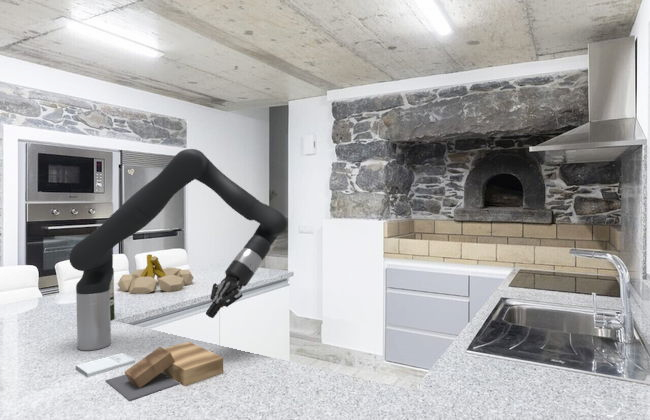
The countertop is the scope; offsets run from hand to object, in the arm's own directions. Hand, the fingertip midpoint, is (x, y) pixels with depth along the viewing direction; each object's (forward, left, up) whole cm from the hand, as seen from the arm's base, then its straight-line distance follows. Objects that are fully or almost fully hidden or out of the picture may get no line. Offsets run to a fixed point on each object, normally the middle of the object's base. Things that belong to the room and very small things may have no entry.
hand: (209, 316), depth 120 cm
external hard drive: (-18, -21, -14) cm, 31 cm away
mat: (0, -19, -13) cm, 23 cm away
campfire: (-108, +34, -13) cm, 114 cm away
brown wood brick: (0, -13, -7) cm, 15 cm away
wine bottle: (-66, -6, -13) cm, 67 cm away
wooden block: (0, -7, -13) cm, 15 cm away
